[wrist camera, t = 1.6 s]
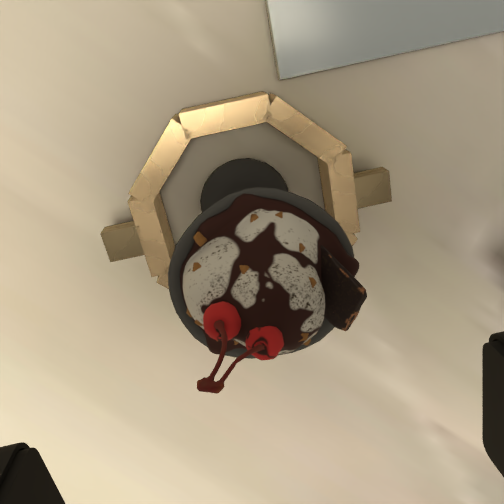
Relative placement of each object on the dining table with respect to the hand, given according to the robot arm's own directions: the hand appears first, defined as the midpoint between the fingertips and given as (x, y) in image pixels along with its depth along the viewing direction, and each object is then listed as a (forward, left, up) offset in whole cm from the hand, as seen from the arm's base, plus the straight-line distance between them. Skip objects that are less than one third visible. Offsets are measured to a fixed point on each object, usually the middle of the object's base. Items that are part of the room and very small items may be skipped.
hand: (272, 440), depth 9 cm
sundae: (-1, 0, -18) cm, 18 cm away
